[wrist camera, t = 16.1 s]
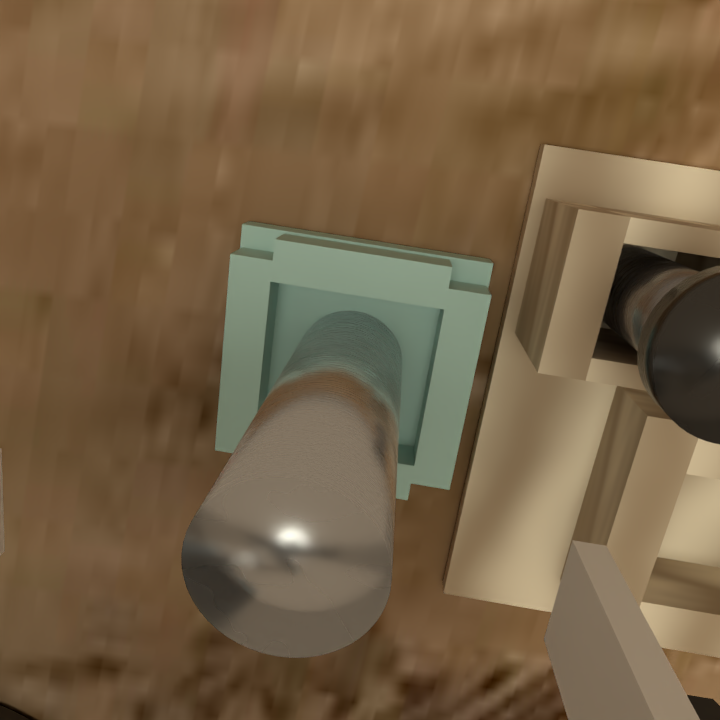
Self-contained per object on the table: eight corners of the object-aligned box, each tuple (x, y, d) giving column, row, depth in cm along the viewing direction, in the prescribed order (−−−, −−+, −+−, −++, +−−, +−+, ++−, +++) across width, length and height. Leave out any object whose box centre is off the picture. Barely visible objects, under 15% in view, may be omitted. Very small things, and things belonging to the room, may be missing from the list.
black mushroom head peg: (554, 332, 25) (632, 430, 16) (583, 219, 23) (685, 257, 15) (667, 350, 25) (807, 458, 16) (702, 237, 23) (877, 288, 14)
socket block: (442, 582, 31) (449, 675, 25) (540, 144, 24) (578, 141, 19) (773, 640, 30) (853, 747, 25) (962, 208, 24) (1128, 224, 18)
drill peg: (292, 401, 27) (176, 638, 14) (303, 302, 26) (187, 459, 12) (393, 418, 27) (374, 673, 14) (410, 319, 26) (408, 497, 12)
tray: (230, 438, 29) (211, 468, 26) (249, 221, 26) (229, 229, 23) (444, 474, 29) (447, 509, 26) (490, 258, 26) (499, 271, 23)
